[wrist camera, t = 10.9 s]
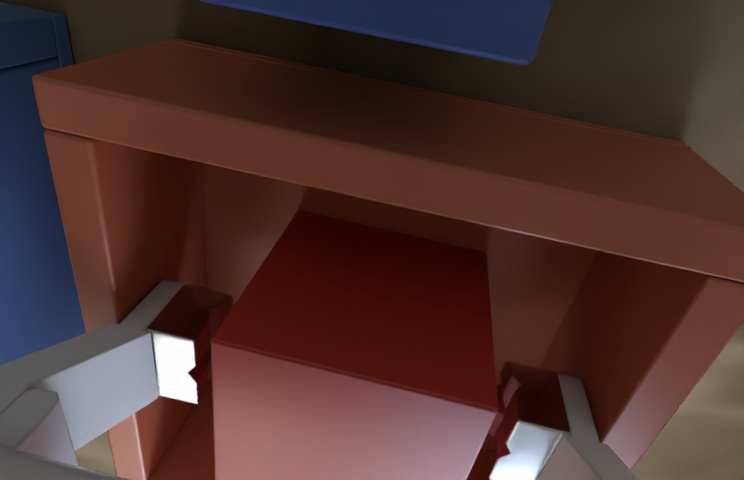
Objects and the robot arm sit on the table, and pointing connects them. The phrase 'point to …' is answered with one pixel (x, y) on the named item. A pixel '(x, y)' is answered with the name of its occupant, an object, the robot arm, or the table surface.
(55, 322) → the blue bin
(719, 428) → the table surface
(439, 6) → the blue block
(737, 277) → the red bin
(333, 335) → the red block
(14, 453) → the robot arm
